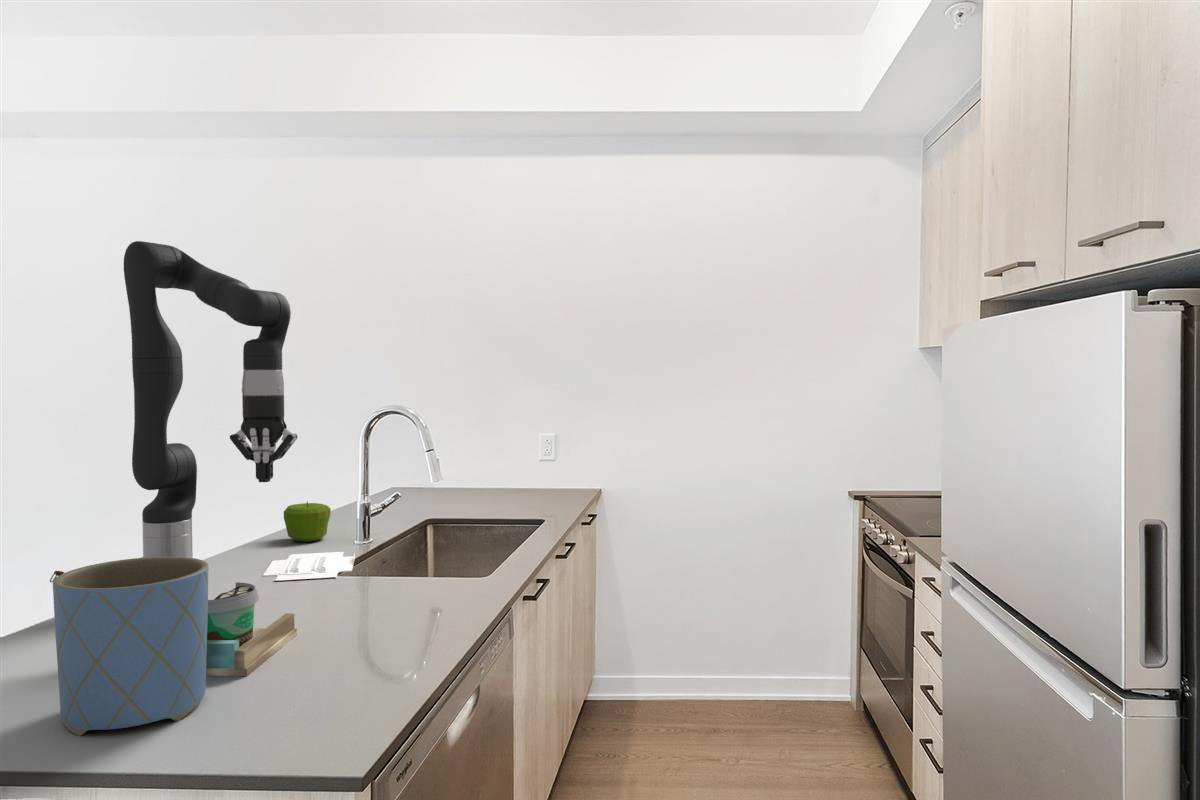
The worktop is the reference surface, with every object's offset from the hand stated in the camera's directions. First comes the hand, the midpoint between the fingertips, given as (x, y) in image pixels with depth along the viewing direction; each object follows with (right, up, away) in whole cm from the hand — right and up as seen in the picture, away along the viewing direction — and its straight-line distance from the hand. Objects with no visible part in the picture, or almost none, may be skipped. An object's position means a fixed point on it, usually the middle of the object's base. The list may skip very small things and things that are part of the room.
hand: (264, 481), depth 156 cm
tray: (-7, -27, +44) cm, 51 cm away
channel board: (+4, -28, -19) cm, 34 cm away
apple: (-19, -25, +75) cm, 81 cm away
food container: (+4, -27, -20) cm, 34 cm away
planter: (-1, -29, -42) cm, 51 cm away
